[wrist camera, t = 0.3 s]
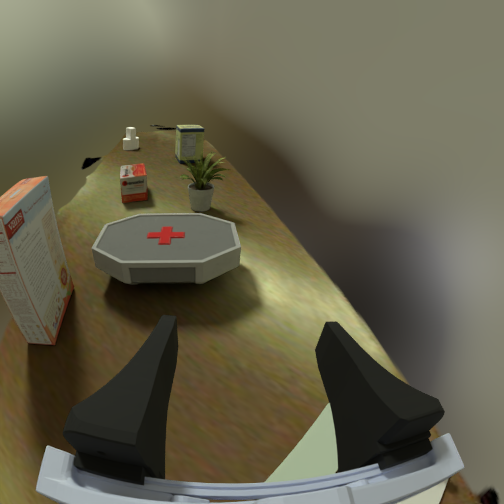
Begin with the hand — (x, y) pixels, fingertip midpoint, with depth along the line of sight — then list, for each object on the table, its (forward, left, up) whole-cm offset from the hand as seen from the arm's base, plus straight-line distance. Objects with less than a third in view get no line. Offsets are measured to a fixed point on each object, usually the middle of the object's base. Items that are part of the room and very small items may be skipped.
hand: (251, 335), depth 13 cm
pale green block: (-2, -8, -21) cm, 23 cm away
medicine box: (+74, +27, -21) cm, 82 cm away
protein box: (+120, +14, -21) cm, 123 cm away
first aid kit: (+34, +10, -21) cm, 41 cm away
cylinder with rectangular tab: (+148, +50, -21) cm, 158 cm away
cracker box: (+20, +29, -21) cm, 41 cm away
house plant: (+62, +6, -21) cm, 66 cm away
